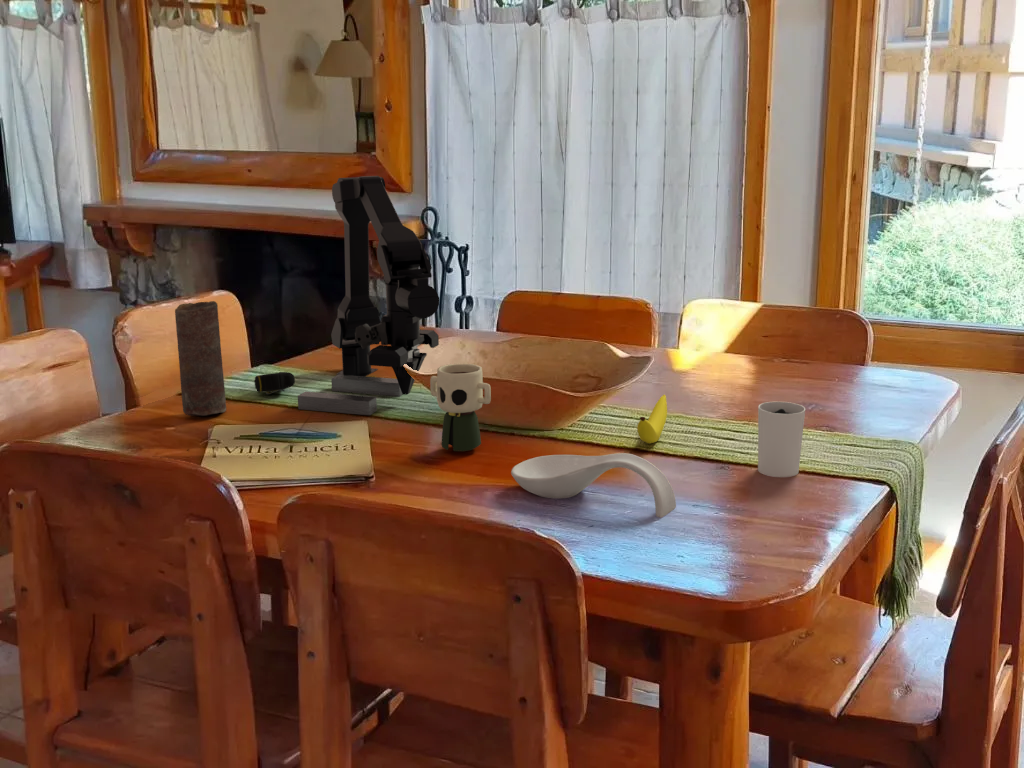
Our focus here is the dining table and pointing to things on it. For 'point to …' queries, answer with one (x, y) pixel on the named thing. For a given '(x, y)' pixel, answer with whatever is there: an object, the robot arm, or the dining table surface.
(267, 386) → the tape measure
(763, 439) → the light grey cup
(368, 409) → the guide channel
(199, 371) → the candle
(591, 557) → the dining table surface
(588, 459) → the spoon rest
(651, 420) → the banana
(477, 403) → the character mug
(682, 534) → the dining table surface
